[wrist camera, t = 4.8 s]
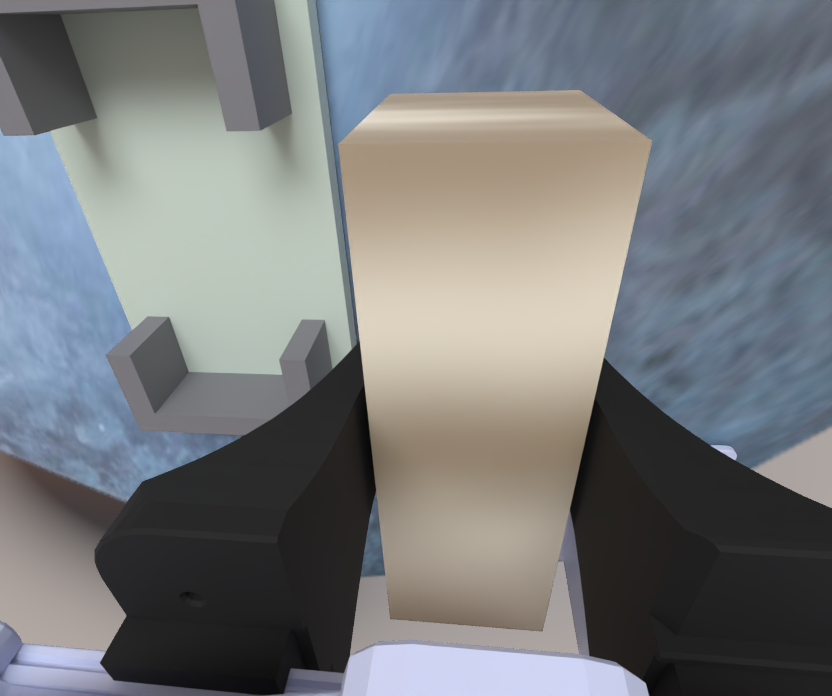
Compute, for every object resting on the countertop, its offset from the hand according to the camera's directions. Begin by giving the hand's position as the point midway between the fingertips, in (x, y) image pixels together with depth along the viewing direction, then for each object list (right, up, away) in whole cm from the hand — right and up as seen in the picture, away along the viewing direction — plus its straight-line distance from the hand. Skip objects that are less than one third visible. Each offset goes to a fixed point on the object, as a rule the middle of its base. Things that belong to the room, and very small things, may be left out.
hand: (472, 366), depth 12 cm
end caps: (-9, +6, +7) cm, 13 cm away
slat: (0, +1, +1) cm, 2 cm away
